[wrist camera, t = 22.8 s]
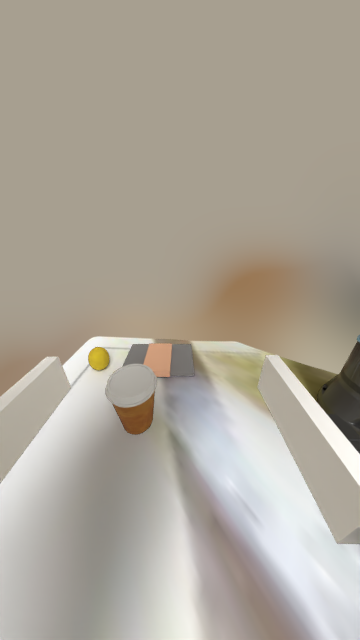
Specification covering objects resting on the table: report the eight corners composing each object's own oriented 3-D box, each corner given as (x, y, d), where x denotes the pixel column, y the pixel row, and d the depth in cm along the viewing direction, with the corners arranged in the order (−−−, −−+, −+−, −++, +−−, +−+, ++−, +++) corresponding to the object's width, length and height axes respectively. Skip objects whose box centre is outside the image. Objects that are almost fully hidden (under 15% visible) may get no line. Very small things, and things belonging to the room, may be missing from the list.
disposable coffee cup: (106, 423, 36) (93, 382, 31) (141, 394, 43) (135, 356, 38) (134, 455, 31) (124, 411, 25) (169, 416, 37) (166, 375, 32)
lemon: (98, 378, 48) (91, 355, 44) (88, 370, 51) (81, 348, 47) (115, 367, 52) (110, 346, 48) (105, 361, 55) (100, 340, 51)
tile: (170, 377, 47) (172, 348, 60) (169, 371, 46) (172, 343, 59) (141, 377, 47) (150, 348, 60) (141, 371, 47) (149, 343, 59)
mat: (191, 345, 63) (191, 344, 63) (194, 376, 48) (194, 375, 48) (132, 345, 63) (132, 344, 63) (118, 376, 48) (118, 375, 48)
